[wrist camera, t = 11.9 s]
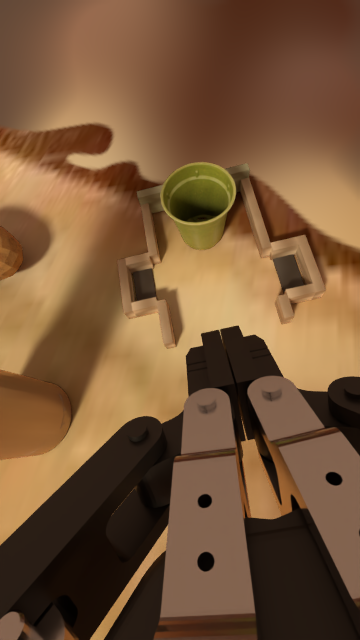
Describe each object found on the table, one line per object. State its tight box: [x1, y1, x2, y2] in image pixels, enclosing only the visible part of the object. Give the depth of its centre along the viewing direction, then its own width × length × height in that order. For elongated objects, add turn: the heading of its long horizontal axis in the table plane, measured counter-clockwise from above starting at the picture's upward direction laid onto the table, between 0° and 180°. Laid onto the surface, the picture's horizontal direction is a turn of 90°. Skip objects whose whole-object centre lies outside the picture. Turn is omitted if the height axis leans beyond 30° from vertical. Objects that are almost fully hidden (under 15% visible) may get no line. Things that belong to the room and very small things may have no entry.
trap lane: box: [117, 163, 326, 349], centre depth 44 cm, size 26×23×4 cm
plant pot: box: [160, 162, 236, 250], centre depth 43 cm, size 9×9×9 cm
